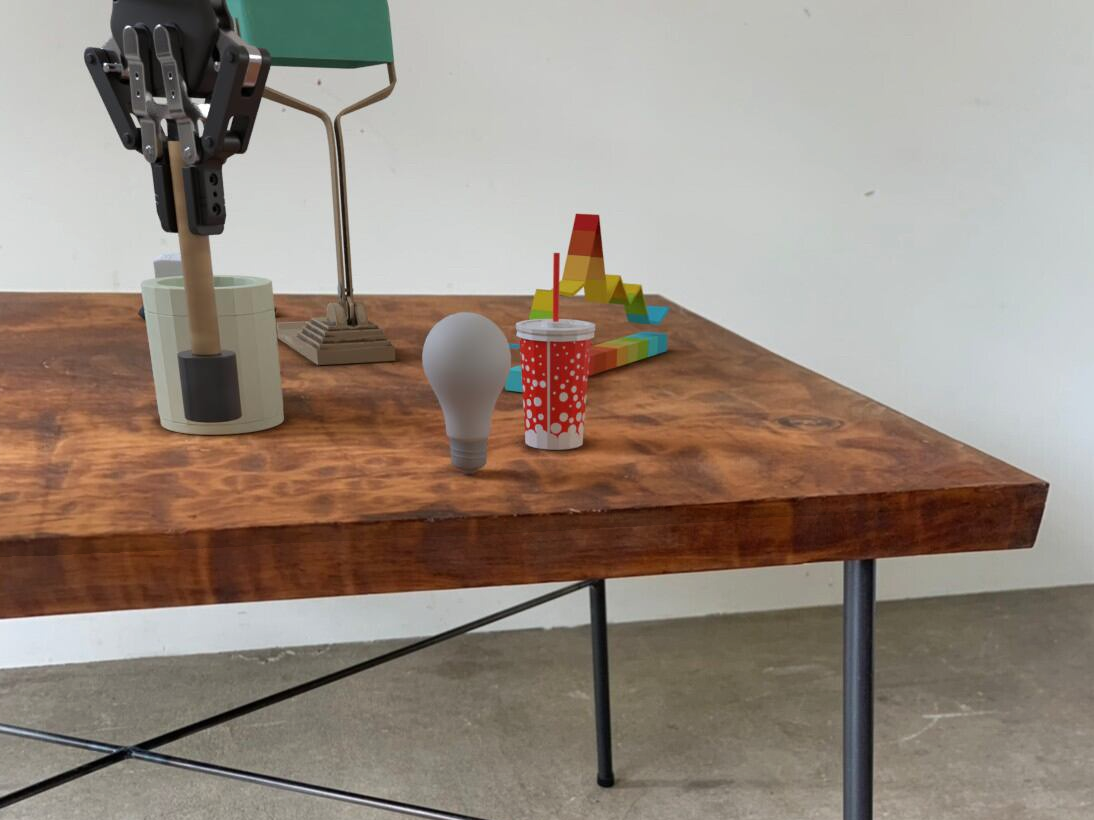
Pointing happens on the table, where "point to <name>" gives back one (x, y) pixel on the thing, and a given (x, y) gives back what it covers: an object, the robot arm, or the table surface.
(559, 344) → the beverage cup
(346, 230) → the banker's lamp
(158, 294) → the jar
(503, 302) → the table surface
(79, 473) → the table surface
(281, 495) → the table surface
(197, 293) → the brush
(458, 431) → the lightbulb
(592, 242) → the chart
